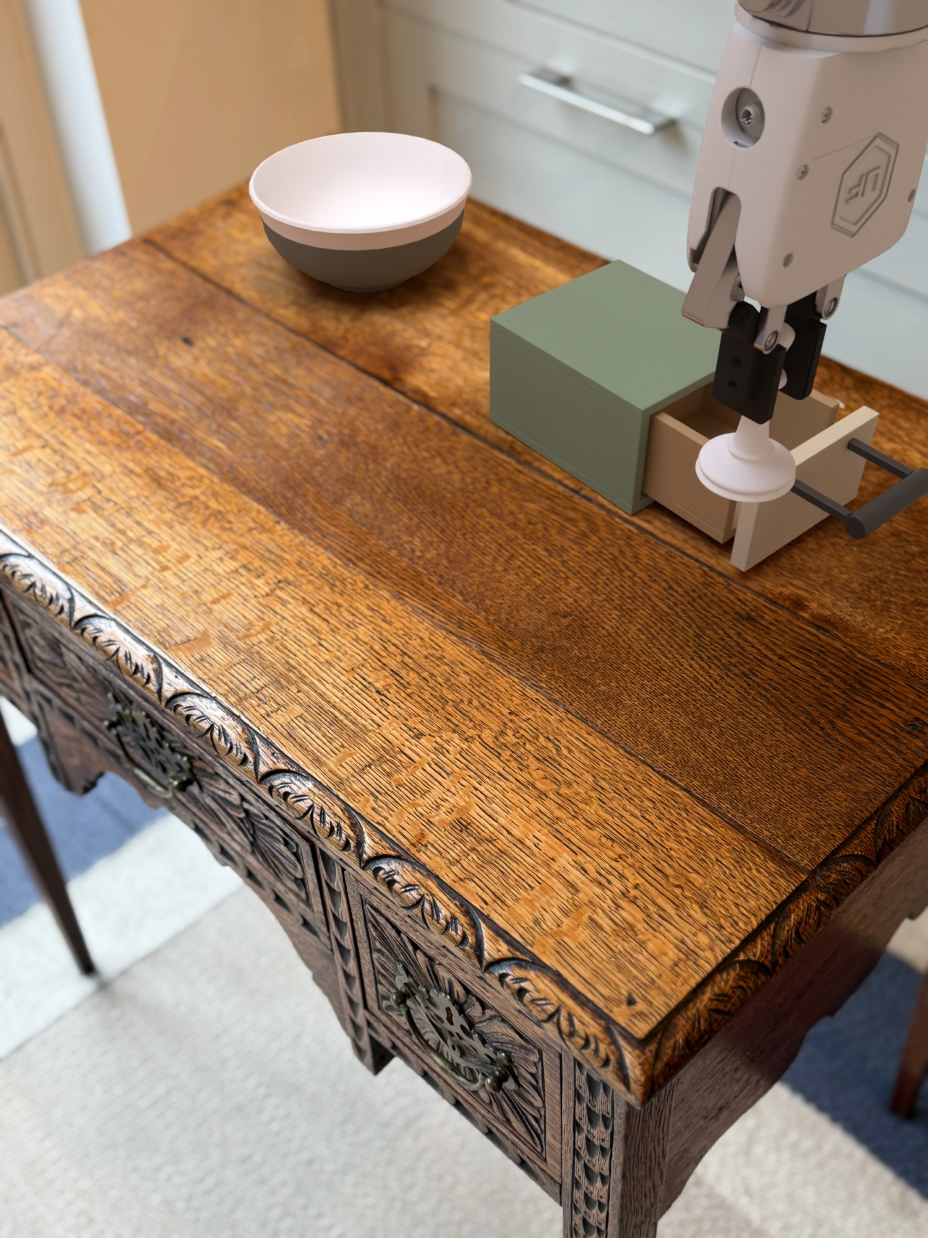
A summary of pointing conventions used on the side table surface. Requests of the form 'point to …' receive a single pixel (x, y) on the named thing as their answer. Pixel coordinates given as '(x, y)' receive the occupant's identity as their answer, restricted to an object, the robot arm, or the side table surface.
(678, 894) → the side table surface
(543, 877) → the side table surface
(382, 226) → the bowl
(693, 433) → the drawer
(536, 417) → the cabinet
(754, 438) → the chess piece
